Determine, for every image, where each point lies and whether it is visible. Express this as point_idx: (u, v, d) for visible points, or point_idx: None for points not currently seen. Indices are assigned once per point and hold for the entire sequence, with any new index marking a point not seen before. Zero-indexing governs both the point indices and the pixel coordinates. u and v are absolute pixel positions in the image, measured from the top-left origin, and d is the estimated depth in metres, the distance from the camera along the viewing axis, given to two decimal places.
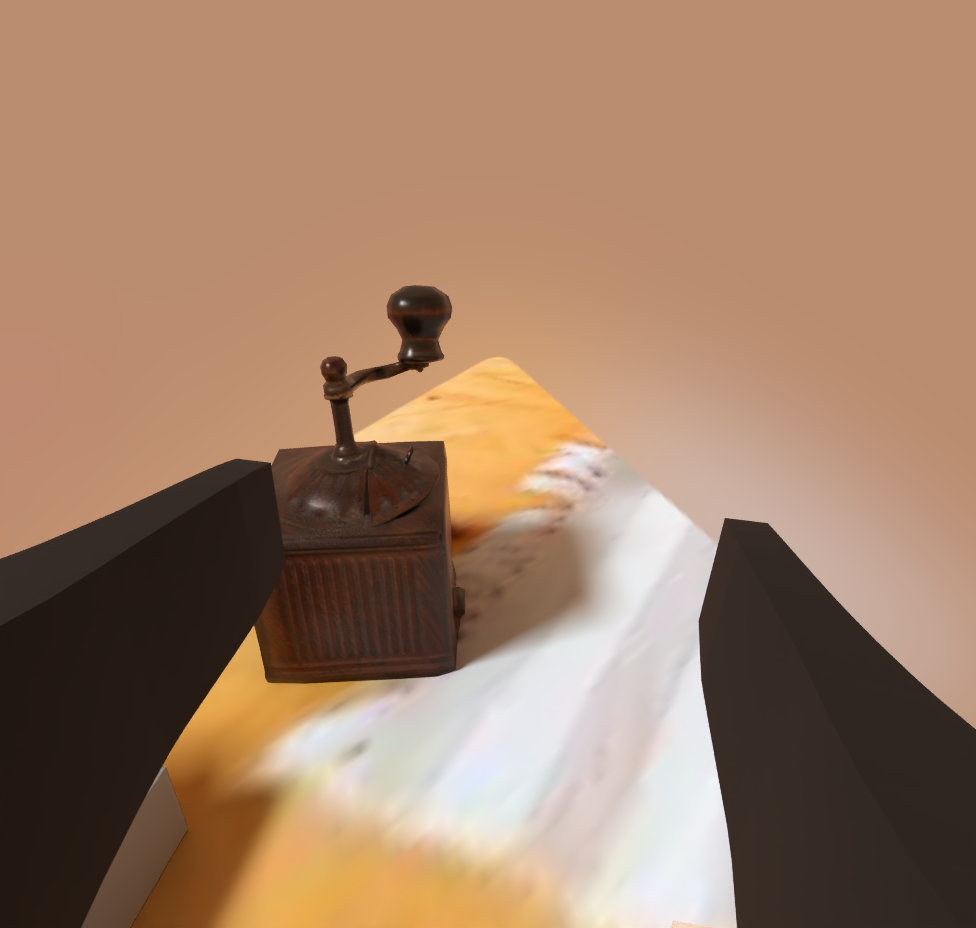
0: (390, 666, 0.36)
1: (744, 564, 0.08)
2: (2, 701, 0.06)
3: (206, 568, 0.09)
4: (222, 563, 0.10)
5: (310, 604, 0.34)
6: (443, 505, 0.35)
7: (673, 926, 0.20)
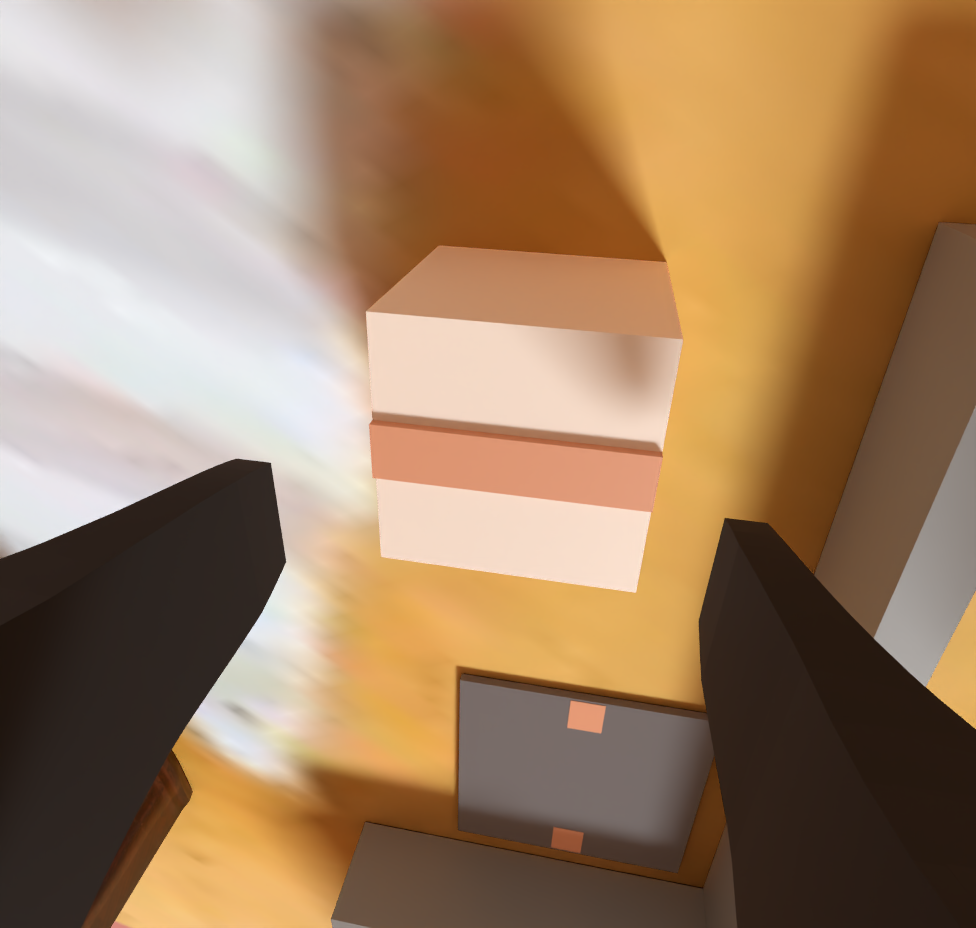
0: None
1: (744, 564, 0.08)
2: (2, 701, 0.06)
3: (206, 568, 0.09)
4: (222, 563, 0.10)
5: None
6: None
7: (387, 555, 0.15)
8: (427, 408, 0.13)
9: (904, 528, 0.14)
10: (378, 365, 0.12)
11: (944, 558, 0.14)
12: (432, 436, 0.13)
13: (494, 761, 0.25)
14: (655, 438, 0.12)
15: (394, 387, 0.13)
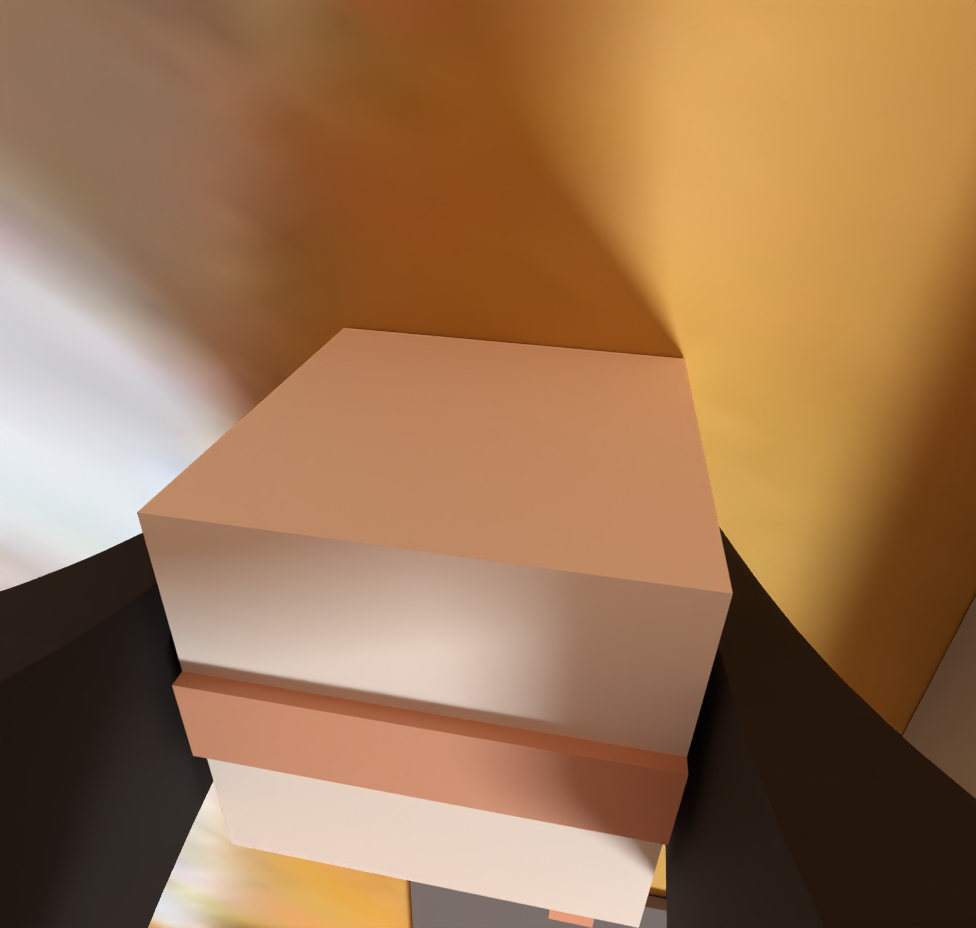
0: None
1: None
2: (76, 715, 0.06)
3: None
4: None
5: None
6: None
7: (241, 840, 0.09)
8: (269, 662, 0.07)
9: None
10: (176, 595, 0.07)
11: None
12: (279, 710, 0.07)
13: None
14: (675, 738, 0.07)
15: (210, 629, 0.07)
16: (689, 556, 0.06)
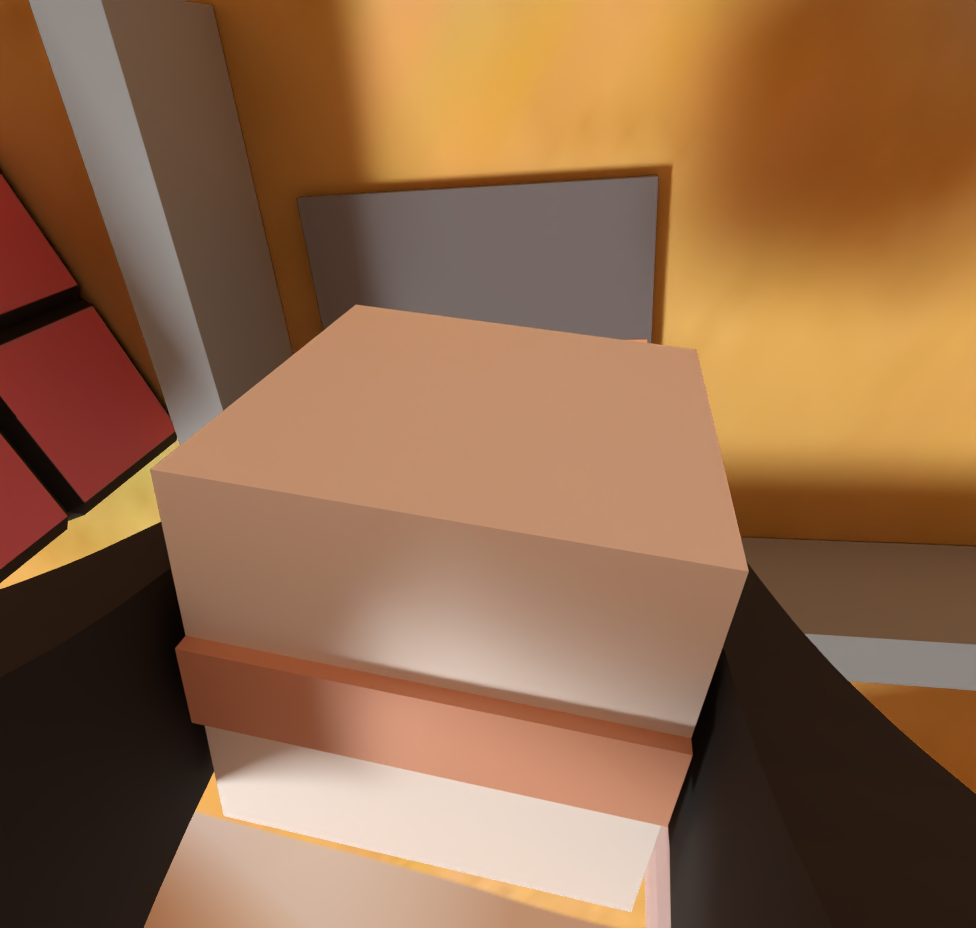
0: None
1: None
2: (71, 714, 0.06)
3: None
4: None
5: None
6: None
7: (234, 812, 0.09)
8: (275, 630, 0.07)
9: None
10: (184, 556, 0.07)
11: None
12: (283, 678, 0.07)
13: (488, 245, 0.17)
14: (681, 718, 0.07)
15: (217, 593, 0.07)
16: (705, 535, 0.06)
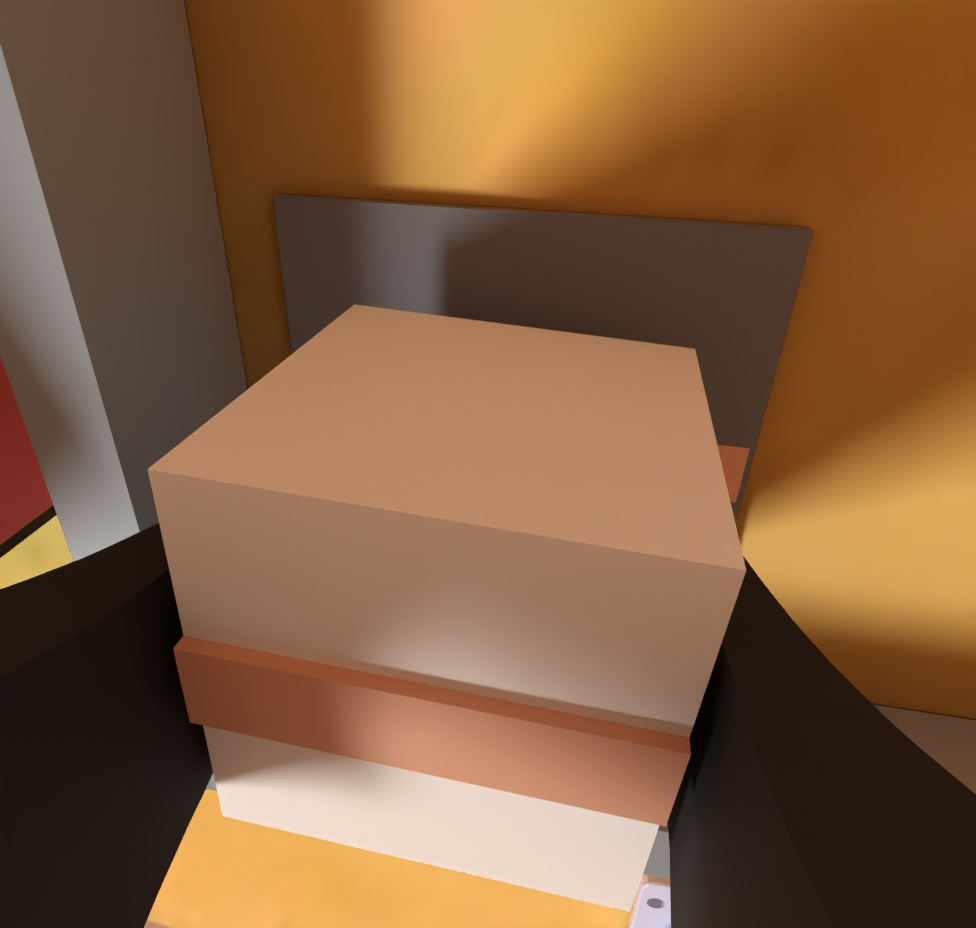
0: None
1: None
2: (71, 714, 0.06)
3: None
4: None
5: None
6: None
7: (233, 812, 0.09)
8: (272, 629, 0.07)
9: None
10: (182, 556, 0.07)
11: None
12: (281, 677, 0.07)
13: (545, 296, 0.12)
14: (678, 717, 0.07)
15: (214, 593, 0.07)
16: (702, 534, 0.06)
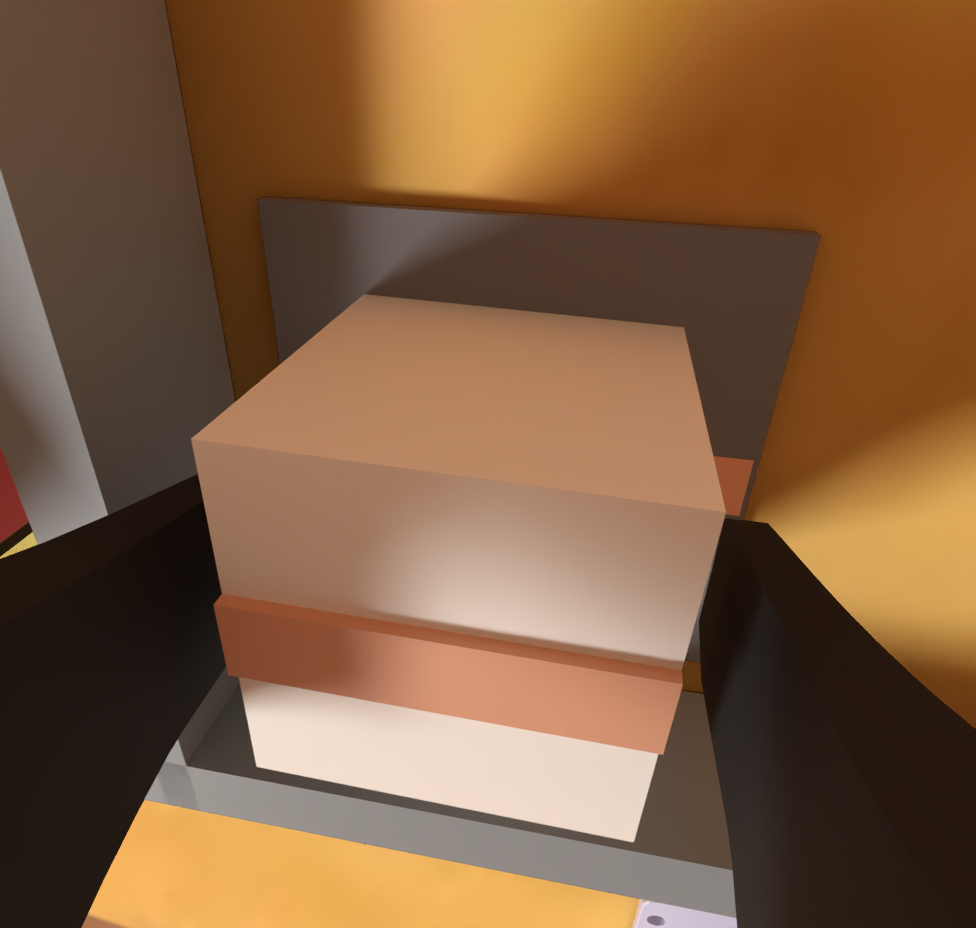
0: None
1: (744, 564, 0.08)
2: (2, 702, 0.06)
3: (206, 569, 0.09)
4: None
5: None
6: None
7: (266, 763, 0.10)
8: (303, 584, 0.08)
9: None
10: (221, 519, 0.08)
11: None
12: (312, 628, 0.08)
13: (541, 304, 0.11)
14: (671, 652, 0.07)
15: (250, 552, 0.08)
16: (687, 484, 0.07)
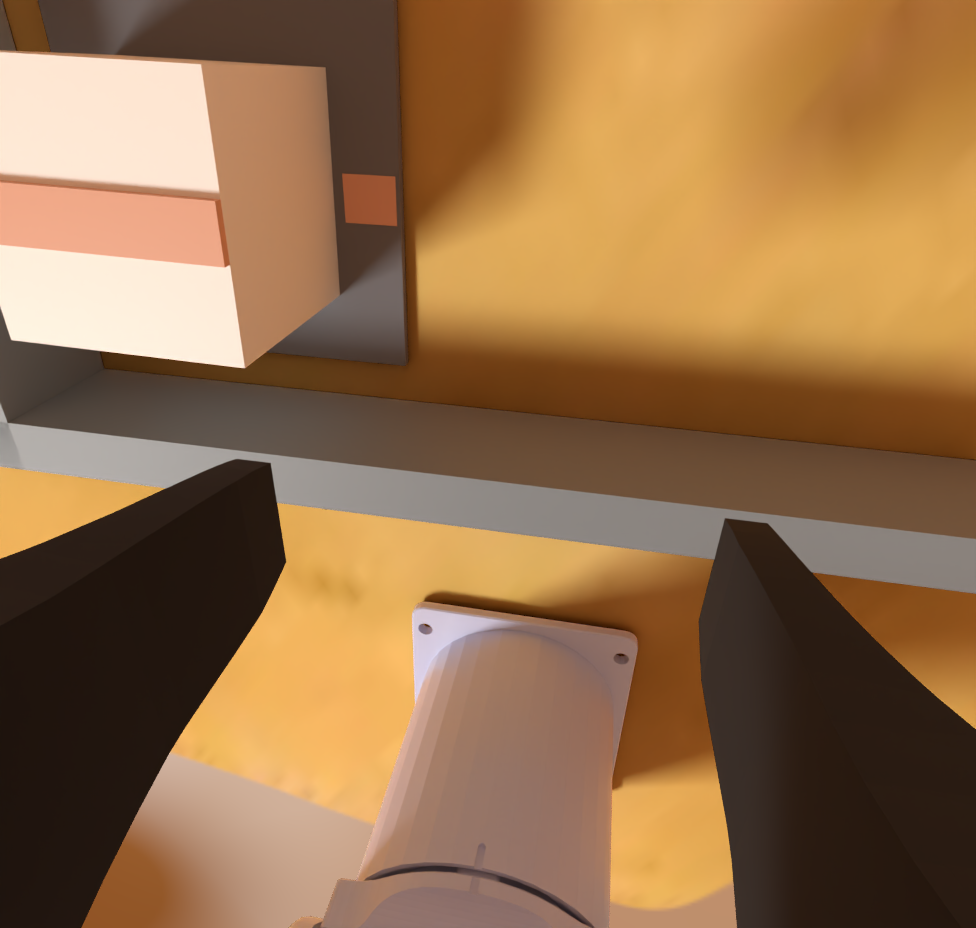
0: None
1: (744, 564, 0.08)
2: (2, 702, 0.06)
3: (205, 568, 0.09)
4: (222, 563, 0.10)
5: None
6: None
7: (18, 338, 0.15)
8: (1, 159, 0.13)
9: (789, 503, 0.16)
10: None
11: None
12: (7, 189, 0.13)
13: (231, 54, 0.16)
14: (209, 183, 0.12)
15: None
16: None
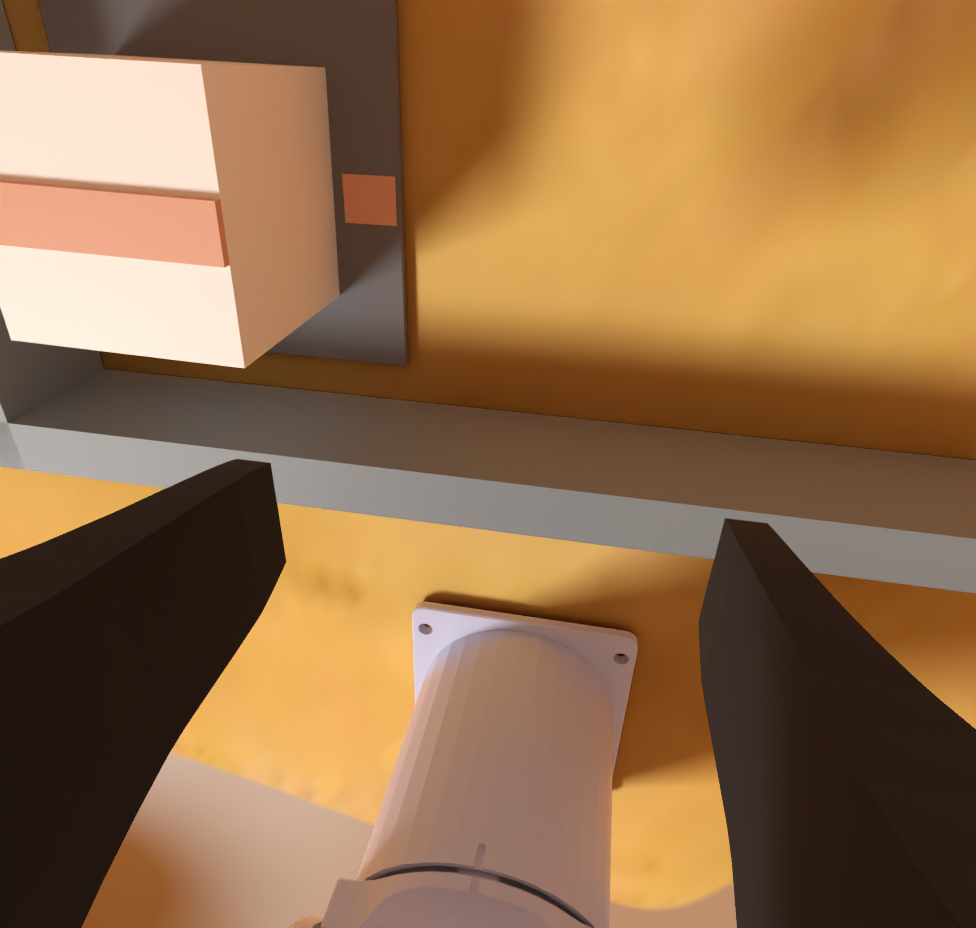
0: None
1: (744, 564, 0.08)
2: (2, 702, 0.06)
3: (206, 568, 0.09)
4: (222, 563, 0.10)
5: None
6: None
7: (17, 339, 0.15)
8: (1, 160, 0.13)
9: (789, 503, 0.16)
10: None
11: None
12: (8, 189, 0.13)
13: (230, 54, 0.16)
14: (209, 183, 0.12)
15: None
16: None
